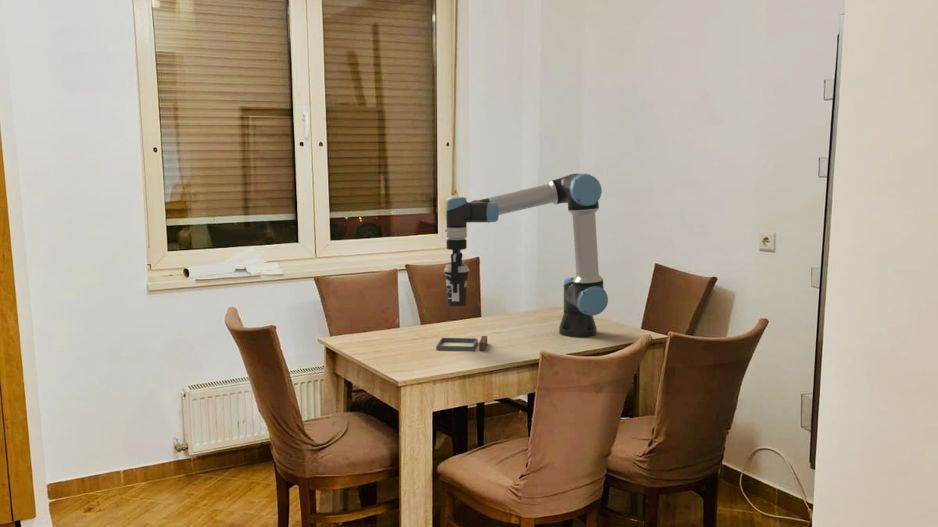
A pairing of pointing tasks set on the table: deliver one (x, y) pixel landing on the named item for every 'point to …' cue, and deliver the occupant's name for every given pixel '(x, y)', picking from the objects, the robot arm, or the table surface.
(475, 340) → the frame
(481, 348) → the edge strip
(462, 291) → the coffee cup
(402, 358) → the table surface
